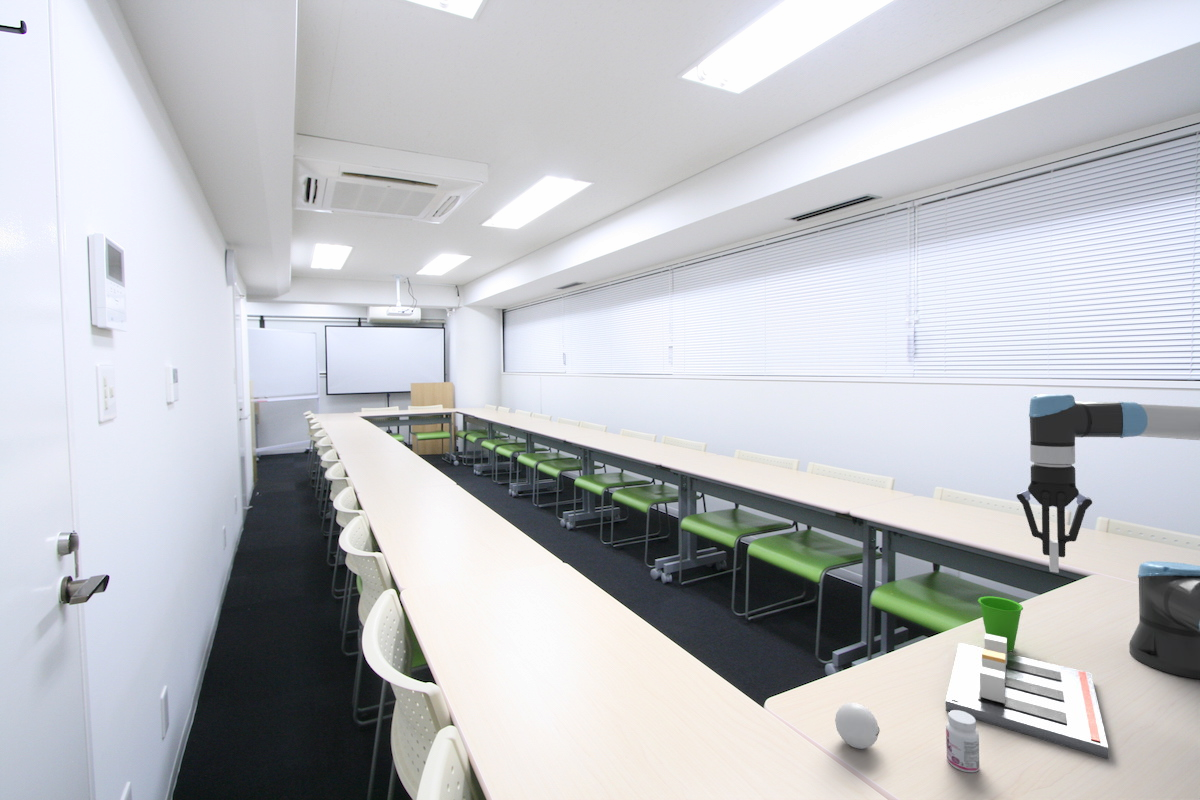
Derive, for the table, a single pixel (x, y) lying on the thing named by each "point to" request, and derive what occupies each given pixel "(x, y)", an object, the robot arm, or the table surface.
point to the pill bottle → (962, 741)
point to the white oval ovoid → (857, 725)
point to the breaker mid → (994, 660)
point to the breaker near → (992, 684)
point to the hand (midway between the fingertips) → (1054, 570)
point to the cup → (1001, 618)
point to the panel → (1032, 700)
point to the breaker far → (996, 644)
